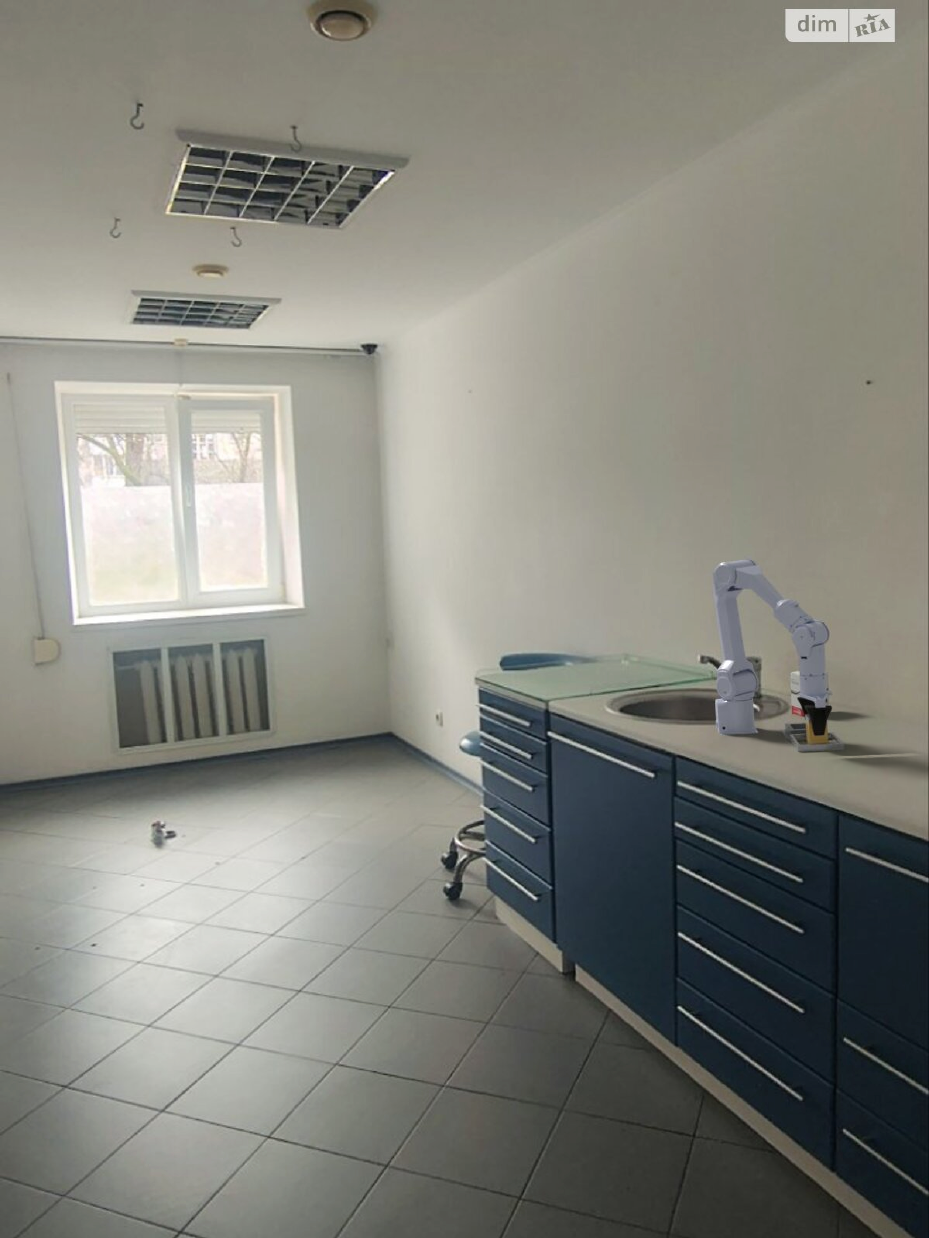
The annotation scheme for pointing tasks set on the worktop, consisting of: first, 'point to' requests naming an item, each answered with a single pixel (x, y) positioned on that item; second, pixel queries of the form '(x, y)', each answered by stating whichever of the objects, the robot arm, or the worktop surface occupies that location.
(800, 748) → the parts tray
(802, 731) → the socket block
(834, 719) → the worktop surface
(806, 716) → the block
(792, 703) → the ink box
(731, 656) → the robot arm
